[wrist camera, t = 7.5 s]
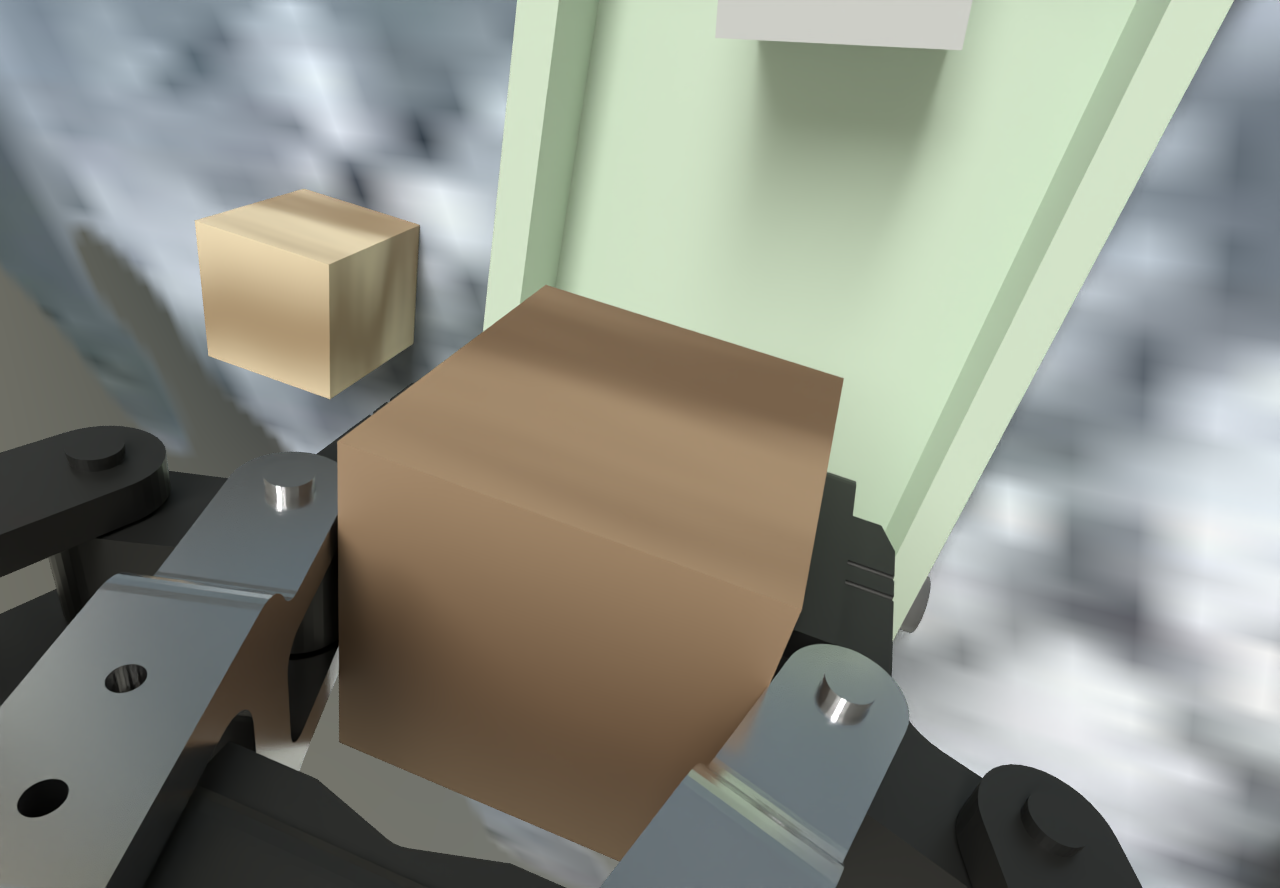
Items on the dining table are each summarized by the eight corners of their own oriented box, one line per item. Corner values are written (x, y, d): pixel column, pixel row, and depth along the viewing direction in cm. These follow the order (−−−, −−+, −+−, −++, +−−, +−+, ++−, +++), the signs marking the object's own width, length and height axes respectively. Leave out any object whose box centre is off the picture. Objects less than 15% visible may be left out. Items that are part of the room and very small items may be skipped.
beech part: (305, 188, 27) (195, 220, 23) (420, 224, 27) (328, 264, 22) (307, 307, 30) (208, 355, 25) (414, 343, 29) (330, 399, 25)
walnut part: (546, 284, 12) (336, 441, 7) (844, 378, 11) (801, 609, 7) (512, 521, 14) (338, 741, 10) (754, 610, 13) (682, 888, 9)
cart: (598, -442, 17) (511, -568, 14) (1394, -312, 15) (1555, -419, 11) (484, 508, 32) (426, 576, 28) (882, 654, 29) (877, 750, 25)
